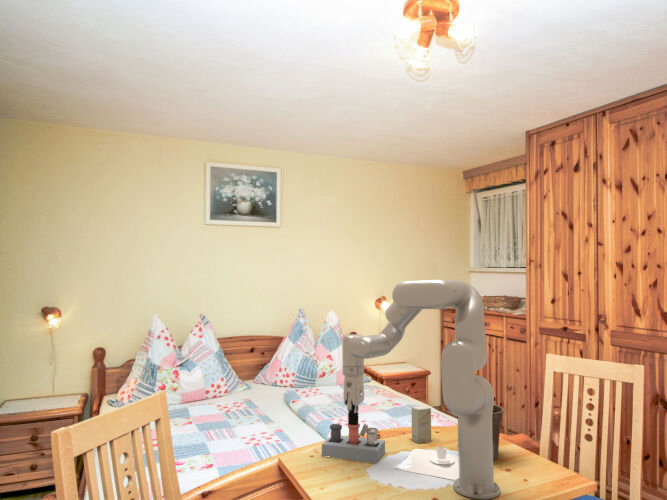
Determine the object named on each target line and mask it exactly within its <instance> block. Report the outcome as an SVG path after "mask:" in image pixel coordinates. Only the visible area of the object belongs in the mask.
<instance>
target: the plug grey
mask: <svg viewBox="0 0 667 500" xmlns="http://www.w3.org/2000/svg"><path fill="white" fill-rule="evenodd" d="M378 433H379V428H377V427H368V428H366V433H365V434H366V438H367V446H372V447H377V439H378Z"/></svg>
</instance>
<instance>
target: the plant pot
mask: <svg viewBox="0 0 667 500" xmlns="http://www.w3.org/2000/svg"><path fill="white" fill-rule="evenodd" d="M504 412H505V411H504V408H503V407H502V406H499V405H497V404H493V414H492V438H493V460H497V459H498V458H499V445H500V434H501V433H500V431H501V423H502V419H503V413H504ZM456 419H457V420H458V416H456Z"/></svg>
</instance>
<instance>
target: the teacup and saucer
mask: <svg viewBox="0 0 667 500" xmlns="http://www.w3.org/2000/svg"><path fill="white" fill-rule="evenodd" d="M435 452H436V454H435V455H432V456H430V457H429V461H430V462H432V463H433V464H436V465H444V466H445V465H452V464H454V463H455V461H456V460H455V459H454V458H453V457H452V456H450V454H451V453H447V448H446V447H444V446H437V447H436V451H435Z"/></svg>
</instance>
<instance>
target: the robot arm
mask: <svg viewBox="0 0 667 500" xmlns="http://www.w3.org/2000/svg"><path fill="white" fill-rule="evenodd" d="M391 297H392V303H391V304H390V305H389V306H388V307H387V308H386V310H385V312H384V315H385V318H386V319H387V324H386V325H385V327H384V328H383V329H382V330H381V331H380V332H379V333H377V334H371V335H366V336H365V335H364V336H363V335H361V334H353V333H352V334H345V335H344V336H343V337H342V375H343V376H344V380H343V404H344V405H345V406H346V410H347V413H348V415H347V418H348V419H347V420H348V421H347V425H348V424H350V425H357V424H358V423H359V407H360V406H359V405H361V404H362V403H363V402H364V400H365V386H364V384H365V383H364V375H365V360H368V359H369V360H370V359H373V358H374V359H375V358H378V357H379V358H380V357H385V356H387V354H389V353H391V352H392V351H393V349H394V348H395V347H396V346H397V345H398V344H399V343H400V342H401V341H402V339H403V337H404V335H405V332H406V329H407V327H408V326H409V325H410V323H411V322H412V321H413V320H414V319H415V318H416V317H417V316H418V315H419V314H420V313H421V312H422V311H423V310H447V309H455V311H456V314H455V319H454V335H455V336H454V339H455V340H452V341H450V342H448V343H447V344H446V345H445V346H444V347H443V349H442V353H441V355H440V371H441V373H440V374H441V389H442V390H441V391H442V400H443V403H444V405H445V407H446V408H447V410H448V411H449V412H450V414H452V415H454V416H456V417H457V416H458V419H457V455H458V464H459V478H458V479H456V480H453V486H452V487H453V490H454V491H455V492H457V493H458V494H459V495H462V496H464V497H467V498H471V499H476V500H490V499H494V498H496V497H498V496H499V495H500V493H501V489H500V488H501V487H500V486H499V485H498V483H496V482H495V476H494V475H495V474H494V470H495V469H494V459H493V438H492V414H493V404H494V403H495V402H494V401H495V394H494V389H493V387H492V385H491V383H490V382H489V380H488V379H486V378H485V377H483V376H482V375H479V374H478V375H476V374H475V372H476V371H479V370H481V369H483V368H484V367H485V366H486V364H487V362H488V361H487V360H488V351H487V350H488V349H487V336H486V335H487V334H486V324H485V309H484V301H483V298H482V296H481V294H480V293H479V291H478V290H477V289H476V288H475V287H474V286H473V285H471V284H469V283H467V282H464V281H462V280H457V279H429V280H427V279H426V280H403V281H400V282H398V283H397V284H396V285H395V286H394V288H393V290H392V293H391ZM494 405H495V404H494Z"/></svg>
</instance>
